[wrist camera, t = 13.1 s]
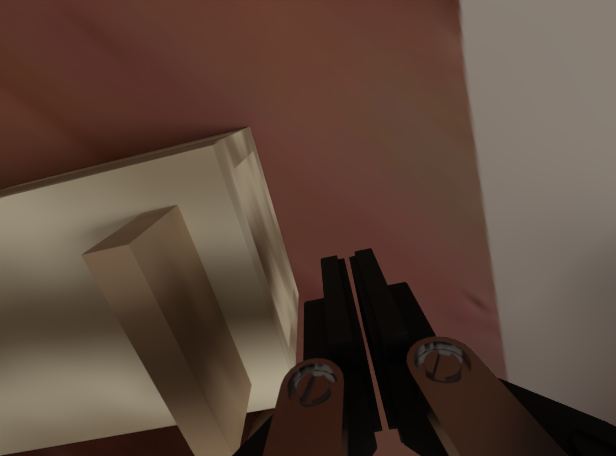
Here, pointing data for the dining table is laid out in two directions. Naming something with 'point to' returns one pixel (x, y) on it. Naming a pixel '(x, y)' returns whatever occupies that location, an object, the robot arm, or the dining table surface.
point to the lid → (135, 308)
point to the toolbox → (254, 205)
